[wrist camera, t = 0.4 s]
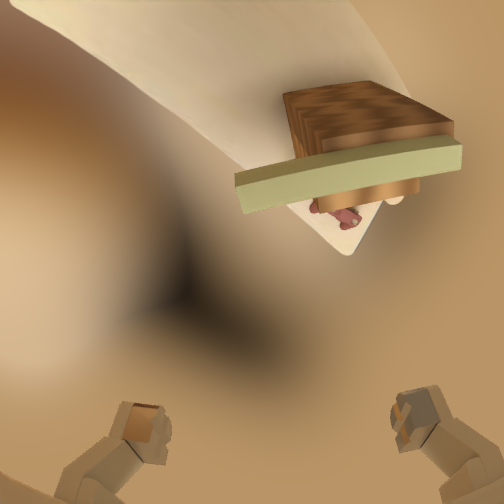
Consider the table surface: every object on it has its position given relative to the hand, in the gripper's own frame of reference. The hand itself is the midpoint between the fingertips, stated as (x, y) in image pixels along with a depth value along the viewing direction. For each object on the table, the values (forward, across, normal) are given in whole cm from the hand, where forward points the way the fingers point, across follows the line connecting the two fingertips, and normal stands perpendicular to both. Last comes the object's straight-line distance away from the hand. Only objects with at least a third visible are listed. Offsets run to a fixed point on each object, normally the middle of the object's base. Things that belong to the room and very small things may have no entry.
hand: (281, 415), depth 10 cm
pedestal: (+51, -13, -5) cm, 53 cm away
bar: (+25, -9, -3) cm, 27 cm away
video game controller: (+55, -13, +13) cm, 58 cm away
